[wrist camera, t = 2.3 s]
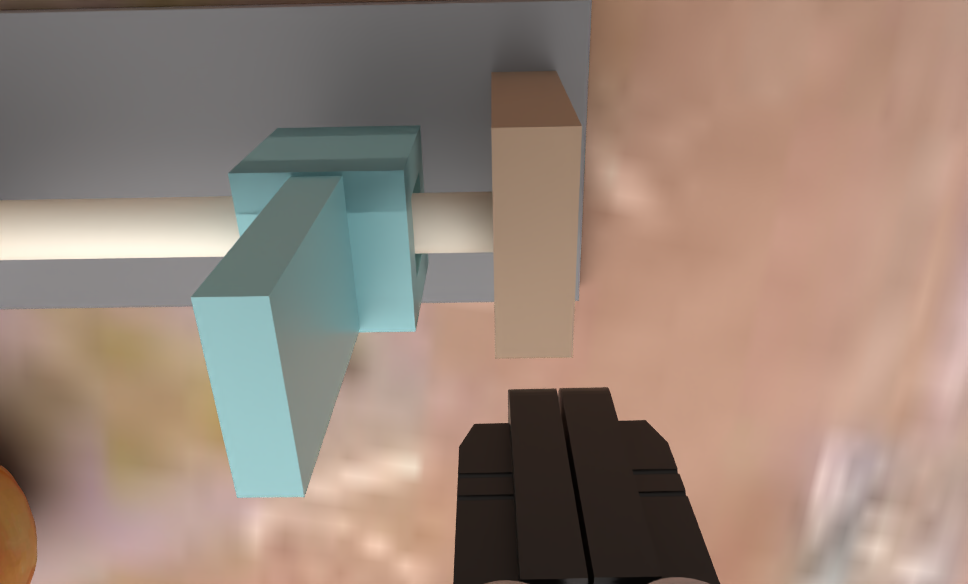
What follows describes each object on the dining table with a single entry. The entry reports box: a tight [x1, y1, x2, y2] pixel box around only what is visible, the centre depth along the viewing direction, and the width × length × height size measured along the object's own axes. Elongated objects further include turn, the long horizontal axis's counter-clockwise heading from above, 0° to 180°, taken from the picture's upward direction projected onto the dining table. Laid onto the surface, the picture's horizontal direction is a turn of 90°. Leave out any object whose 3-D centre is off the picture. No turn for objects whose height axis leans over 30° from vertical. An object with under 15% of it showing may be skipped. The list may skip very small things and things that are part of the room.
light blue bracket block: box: [191, 125, 429, 498], centre depth 16 cm, size 4×4×10 cm
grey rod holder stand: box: [0, 0, 592, 359], centre depth 21 cm, size 26×10×8 cm, turn 91°
